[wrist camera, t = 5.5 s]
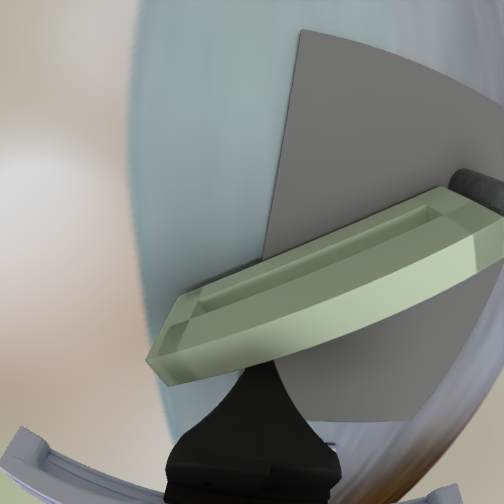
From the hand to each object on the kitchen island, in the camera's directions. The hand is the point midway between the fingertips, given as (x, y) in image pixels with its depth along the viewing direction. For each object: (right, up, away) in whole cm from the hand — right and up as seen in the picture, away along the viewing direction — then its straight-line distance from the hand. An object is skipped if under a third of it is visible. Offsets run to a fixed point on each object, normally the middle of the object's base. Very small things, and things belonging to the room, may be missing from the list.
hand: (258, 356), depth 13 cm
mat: (+7, +3, +1) cm, 8 cm away
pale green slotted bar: (+2, +4, 0) cm, 5 cm away
